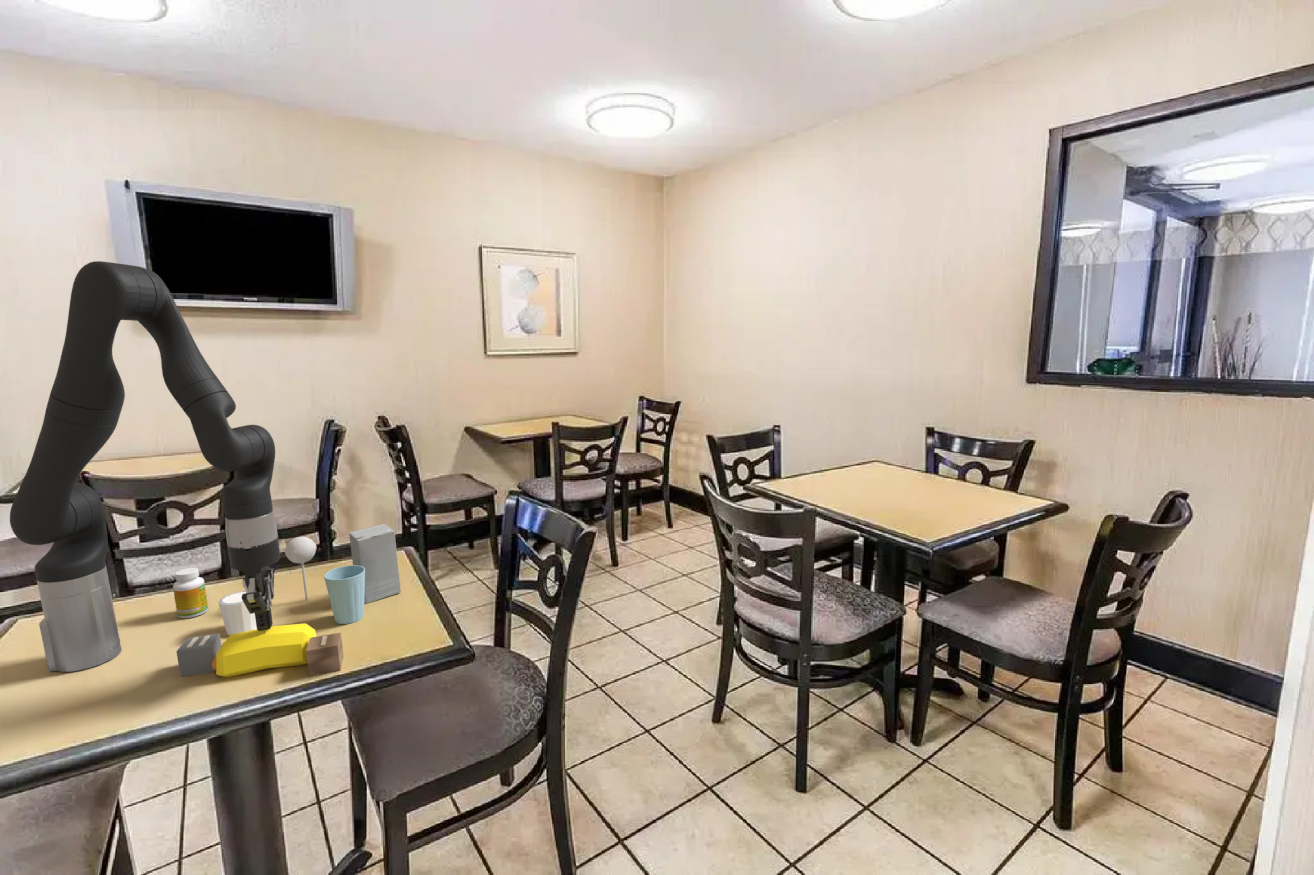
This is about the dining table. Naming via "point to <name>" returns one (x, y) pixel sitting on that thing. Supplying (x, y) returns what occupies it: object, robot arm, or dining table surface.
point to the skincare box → (376, 561)
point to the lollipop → (301, 554)
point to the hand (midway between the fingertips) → (265, 628)
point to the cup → (346, 593)
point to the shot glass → (236, 614)
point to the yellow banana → (263, 649)
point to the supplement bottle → (190, 593)
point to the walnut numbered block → (324, 654)
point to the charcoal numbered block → (198, 654)
